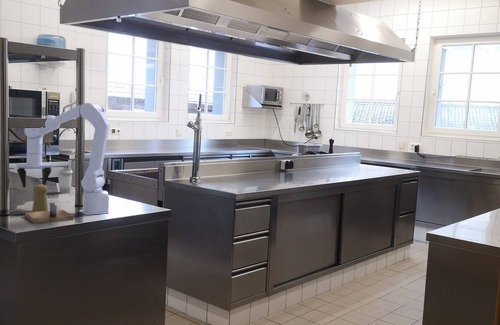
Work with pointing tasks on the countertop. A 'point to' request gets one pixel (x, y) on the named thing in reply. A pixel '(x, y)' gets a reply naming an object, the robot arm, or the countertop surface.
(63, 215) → the board
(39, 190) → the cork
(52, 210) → the steel dowel
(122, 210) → the countertop surface
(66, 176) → the cup
